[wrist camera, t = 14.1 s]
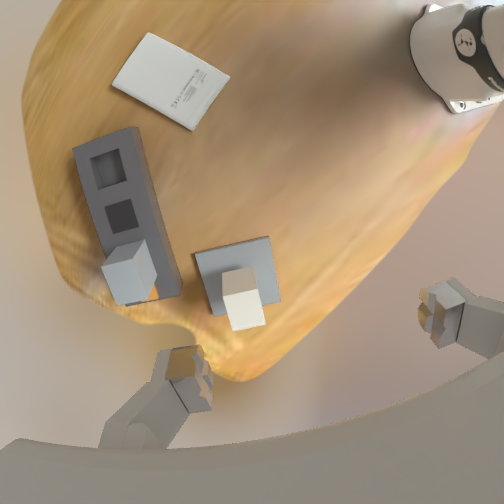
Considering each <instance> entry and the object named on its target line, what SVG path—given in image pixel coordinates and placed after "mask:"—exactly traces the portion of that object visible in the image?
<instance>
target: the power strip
mask: <svg viewBox="0 0 504 504" xmlns="http://www.w3.org/2000/svg"><path fill="white" fill-rule="evenodd" d="M72 150H73V154H74V158H75V162H76V166H77V170H78V174H79V177H80V181H81V184H82V188H83V191H84V194H85V198H86V201H87V204H88V207H89V211H90V214H91V217H92V220H93V223H94V226H95V229H96V232H97V235H98V237H99V240H100V243H101V246H102V248H103V251H104V254H105V256H106V259H107V258H108V257H109V255H110V254H111V253H112V252H113V250H114V249H115V248H116V247H117V246H121V245H125V244H129V243H133V242H136V241H140V240H144V239H145V241H146V244H147V247H148V250H149V253H150V256H151V259H152V262H153V265H154V268H155V270H156V273H157V277H156V280H155V282H154V285H153V288H152V290H151V293H150V296H149V298H148V300H143V301H138V302H133V303H128V304H125V305H126V306H131V305H136V304H141V303H146V302H151V301H156V300H161V299H166V298H171V297H176V296H180V293H181V288H182V284H183V282H182V279H181V276H180V273H179V270H178V267H177V264H176V261H175V258H174V255H173V252H172V248H171V245H170V242H169V239H168V235H167V232H166V229H165V226H164V222H163V219H162V215H161V212H160V208H159V205H158V201H157V198H156V194H155V191H154V187H153V183H152V180H151V176H150V172H149V168H148V164H147V161H146V157H145V153H144V149H143V145H142V140H141V136H140V132H139V128H138V127H128V128H125V129H122V130H120V131H117V132H114V133H111V134H108V135H106V136H103V137H100V138H98V139H95V140H92V141H90V142H87V143H85V144H82V145H80V146H77V147H75V148H72Z"/></svg>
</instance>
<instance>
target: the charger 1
mask: <svg viewBox="0 0 504 504" xmlns="http://www.w3.org/2000/svg"><path fill="white" fill-rule="evenodd" d="M101 269H102V271H103V274H104V276H105V279H106V281H107V283H108V286H109V288H110V291H111V293H112V295H113V297H114V300H115V302H116V304H117V306H118V305H123V304H128V303H133V302H138V301H143V300H148V298H149V296H150V293H151V290H152V288H153V285H154V282H155V280H156V277H157V273H156V270H155V268H154V265H153V262H152V259H151V256H150V253H149V250H148V247H147V244H146V241H145V239H144V240H140V241H136V242H133V243H129V244H125V245H121V246H117V247H116V248H115V249H114V250H113V252H112V253H111V254H110V255H109V257H108V258H107V259H106V261H105V262H104V263H103V264H102V266H101Z"/></svg>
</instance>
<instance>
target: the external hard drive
mask: <svg viewBox="0 0 504 504" xmlns="http://www.w3.org/2000/svg"><path fill="white" fill-rule="evenodd" d="M229 79H230V76H228V75H226V74H225V73H223V72H221V71H220V70H218V69H216V68H215V67H213V66H211V65H210V64H208V63H206V62H204V61H203V60H201V59H199V58H197V57H196V56H194V55H192V54H190V53H188V52H187V51H185V50H183V49H181V48H179V47H177V46H175V45H173V44H171V43H170V42H168V41H166V40H164V39H162V38H159V37H158V36H155V35H153V34H151V33H149V32H148V33H147V34H146V35H145V36H144V38H143V39H142V40H141V42H140V43H139V44H138V46H137V47H136V48H135V50H134V51H133V53H132V54H131V56H130V57H129V58H128V60H127V61H126V63H125V64H124V66H123V67H122V69H121V70H120V72H119V73H118V75H117V76H116V78H115V80H114V81H113V83H112V86H114V87H116V88H118V89H120V90H121V91H123V92H125V93H127V94H129V95H130V96H132V97H134V98H136V99H138V100H140V101H141V102H143V103H145V104H147V105H148V106H150V107H152V108H154V109H155V110H157V111H159V112H161V113H162V114H164V115H166V116H168V117H169V118H171V119H173V120H174V121H176V122H178V123H179V124H181V125H183V126H185V127H186V128H188V129H189V130H191V131H193V130H194V129H195V127H196V126H197V124H198V123H199V121H200V120H201V118H202V117H203V115H204V114H205V113H206V111H207V110H208V108H209V107H210V105H211V104H212V102H213V101H214V100H215V98H216V97H217V96H218V94H219V93H220V92H221V90H222V89H223V87H224V86H225V85H226V83H227V82H228V81H229Z"/></svg>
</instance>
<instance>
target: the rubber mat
mask: <svg viewBox="0 0 504 504" xmlns="http://www.w3.org/2000/svg"><path fill="white" fill-rule="evenodd" d="M195 257H196V260H197V263H198V267H199V270H200V273H201V277H202V280H203V283H204V286H205V290H206V293H207V296H208V299H209V302H210V305H211V308H212V312H213V315H214V316H218V315H223V314H227V310H226V306H225V303H224V300H223V293H222V273H224V272H229V271H233V270H237V269H242V268H246V267H251V266H253V271H254V275H255V279H256V283H257V287H258V292H259V296H260V301H261V305H262V306H264V305H268V304H272V303H277V302H281V298H280V292H279V287H278V282H277V276H276V271H275V266H274V260H273V255H272V250H271V245H270V240H269V236H265V237H261V238H256V239H252V240H247V241H243V242H239V243H234V244H230V245H225V246H221V247H217V248H212V249H208V250H204V251H199V252H195Z"/></svg>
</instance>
